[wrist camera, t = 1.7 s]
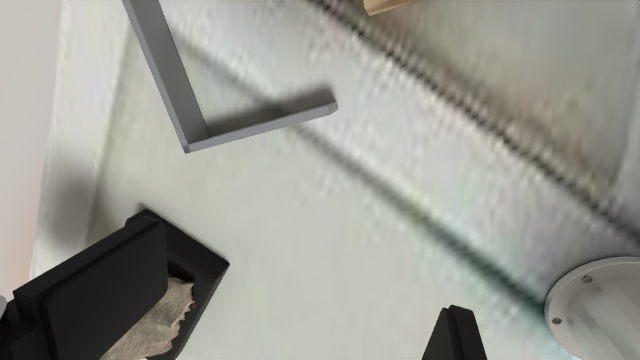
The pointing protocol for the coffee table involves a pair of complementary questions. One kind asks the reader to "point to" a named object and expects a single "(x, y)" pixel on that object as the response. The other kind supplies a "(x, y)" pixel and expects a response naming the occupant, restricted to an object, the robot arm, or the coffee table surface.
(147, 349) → the coral
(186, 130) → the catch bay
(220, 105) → the coffee table surface
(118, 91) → the coffee table surface
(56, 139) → the coffee table surface
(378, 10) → the wooden block
